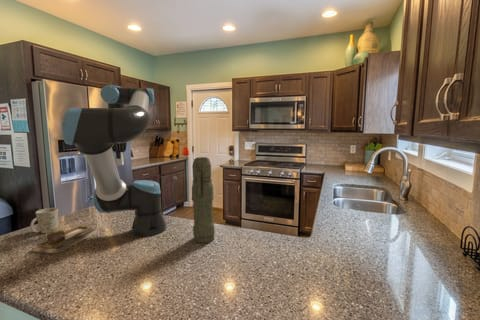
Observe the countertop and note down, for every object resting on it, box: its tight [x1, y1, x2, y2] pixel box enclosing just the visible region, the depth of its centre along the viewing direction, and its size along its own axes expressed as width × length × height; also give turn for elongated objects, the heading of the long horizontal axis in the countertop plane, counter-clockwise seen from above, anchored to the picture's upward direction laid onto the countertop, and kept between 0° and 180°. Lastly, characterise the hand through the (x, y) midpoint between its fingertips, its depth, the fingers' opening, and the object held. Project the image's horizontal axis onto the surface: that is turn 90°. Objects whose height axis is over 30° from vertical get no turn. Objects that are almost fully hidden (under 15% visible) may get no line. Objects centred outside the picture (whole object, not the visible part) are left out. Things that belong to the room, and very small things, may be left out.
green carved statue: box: [191, 156, 216, 245], centre depth 102 cm, size 9×12×35 cm
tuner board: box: [31, 225, 98, 254], centre depth 105 cm, size 12×20×2 cm, turn 170°
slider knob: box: [46, 227, 68, 245], centre depth 99 cm, size 7×4×6 cm, turn 80°
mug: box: [29, 207, 59, 234], centre depth 113 cm, size 8×13×10 cm, turn 174°
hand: (120, 164), depth 125 cm, fingers closed
